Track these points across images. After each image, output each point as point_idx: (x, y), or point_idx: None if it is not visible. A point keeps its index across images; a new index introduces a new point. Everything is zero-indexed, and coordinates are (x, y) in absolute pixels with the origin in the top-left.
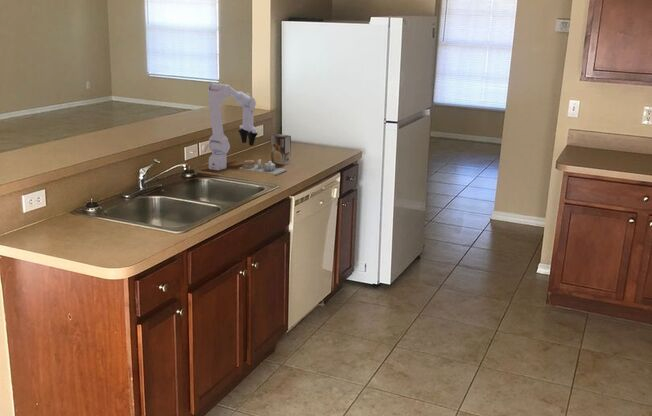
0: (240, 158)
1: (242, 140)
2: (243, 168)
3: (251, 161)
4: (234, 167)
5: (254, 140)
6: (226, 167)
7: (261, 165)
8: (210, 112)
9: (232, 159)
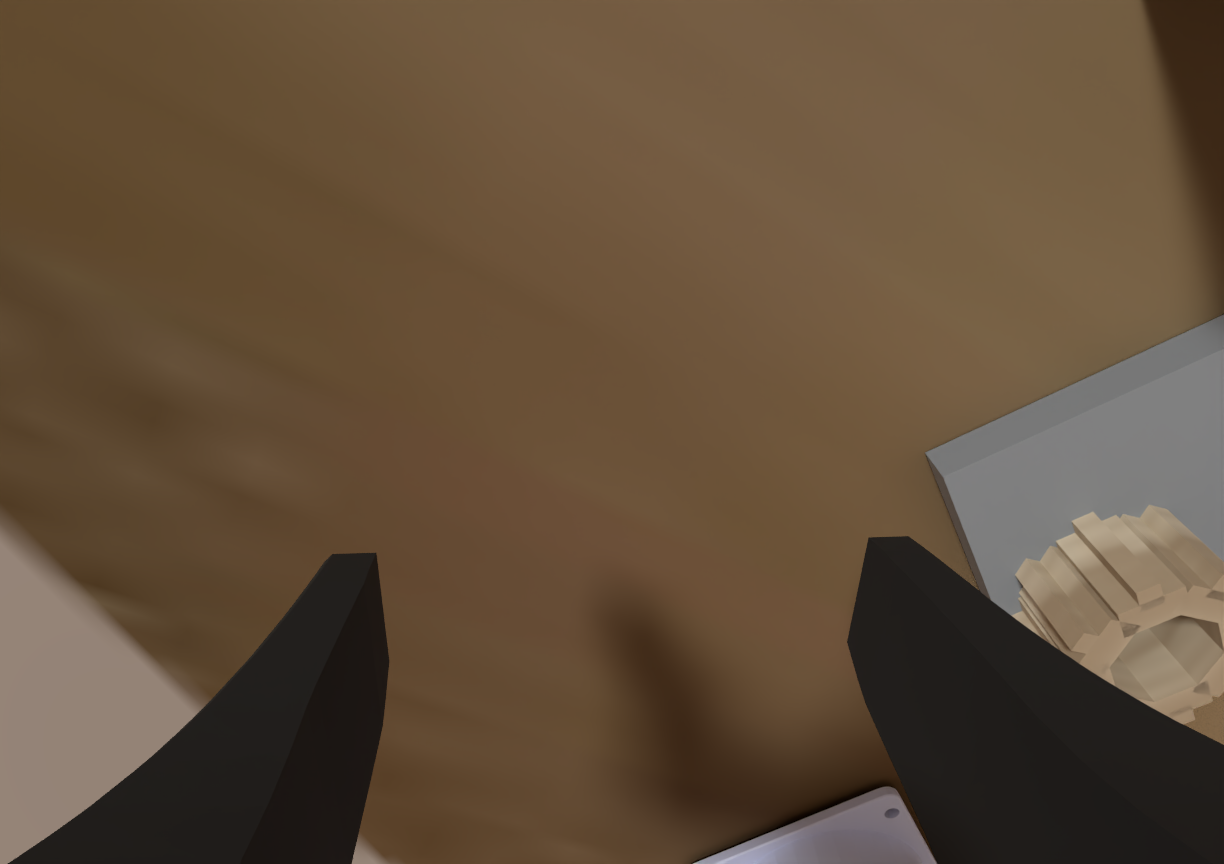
0: (178, 303)
1: (375, 751)
2: None
3: (1163, 607)
4: (835, 696)
5: (1034, 633)
6: (892, 849)
7: (1205, 358)
8: None
9: (229, 493)
